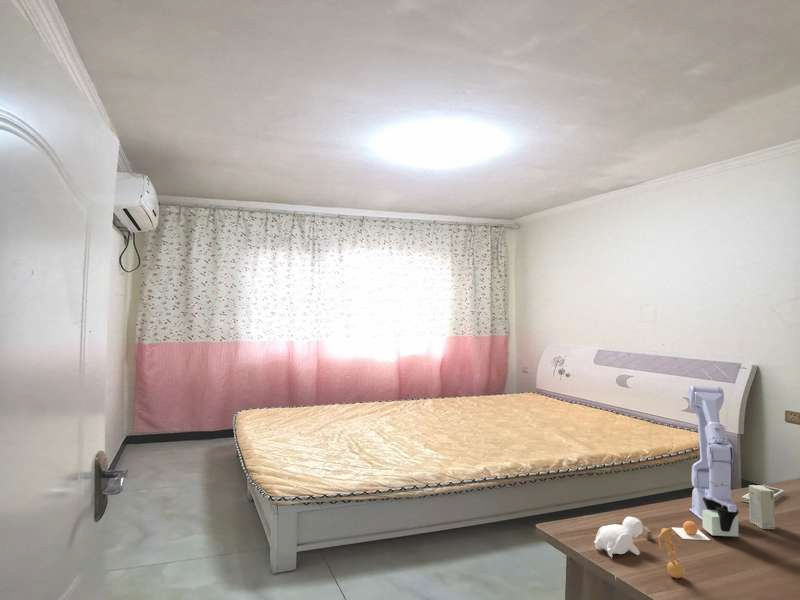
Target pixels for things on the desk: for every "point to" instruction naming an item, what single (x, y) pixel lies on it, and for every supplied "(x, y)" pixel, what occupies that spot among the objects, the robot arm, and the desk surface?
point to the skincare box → (761, 506)
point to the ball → (690, 527)
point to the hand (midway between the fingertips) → (719, 526)
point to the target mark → (684, 535)
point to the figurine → (671, 553)
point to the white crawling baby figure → (619, 537)
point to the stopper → (645, 530)
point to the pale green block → (717, 524)
